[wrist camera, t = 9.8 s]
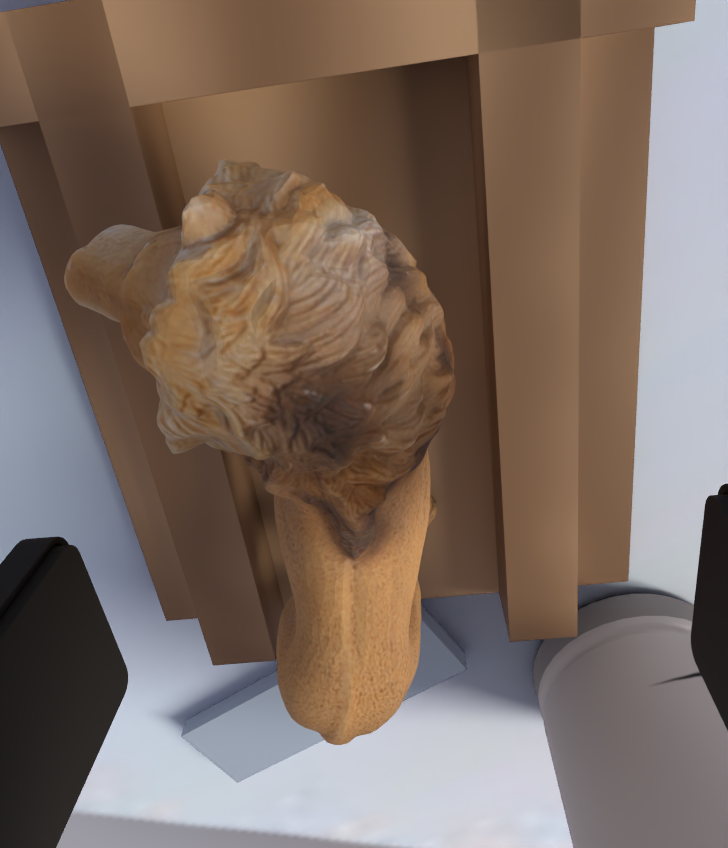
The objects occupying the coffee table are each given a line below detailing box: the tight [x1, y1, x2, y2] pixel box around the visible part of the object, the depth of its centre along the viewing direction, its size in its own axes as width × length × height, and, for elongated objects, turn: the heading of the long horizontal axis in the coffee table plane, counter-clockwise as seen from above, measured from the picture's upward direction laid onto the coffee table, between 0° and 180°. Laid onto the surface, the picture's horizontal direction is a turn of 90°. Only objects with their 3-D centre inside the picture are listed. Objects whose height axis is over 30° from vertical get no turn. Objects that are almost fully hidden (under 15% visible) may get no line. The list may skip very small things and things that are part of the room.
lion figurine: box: [64, 159, 456, 745], centre depth 14 cm, size 15×5×9 cm, turn 11°
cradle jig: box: [0, 0, 696, 665], centre depth 17 cm, size 14×16×3 cm
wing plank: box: [181, 605, 467, 783], centre depth 24 cm, size 10×3×1 cm, turn 127°
